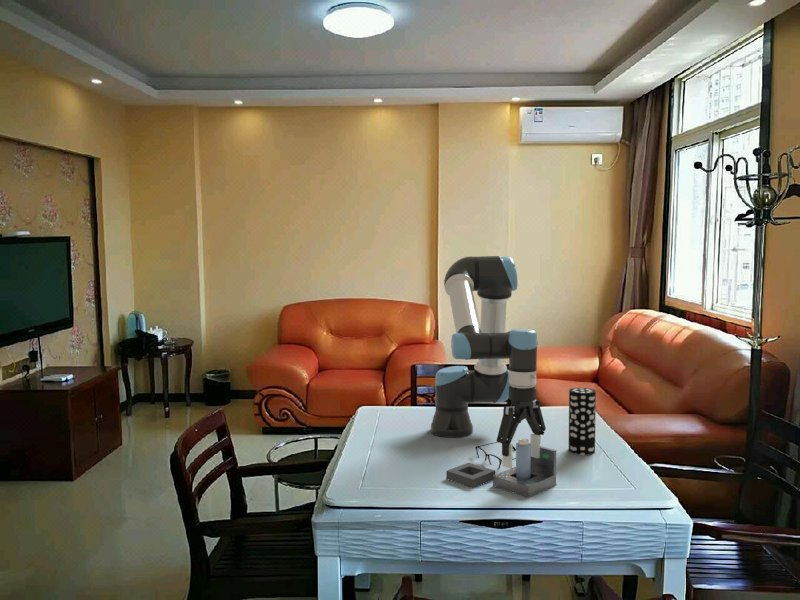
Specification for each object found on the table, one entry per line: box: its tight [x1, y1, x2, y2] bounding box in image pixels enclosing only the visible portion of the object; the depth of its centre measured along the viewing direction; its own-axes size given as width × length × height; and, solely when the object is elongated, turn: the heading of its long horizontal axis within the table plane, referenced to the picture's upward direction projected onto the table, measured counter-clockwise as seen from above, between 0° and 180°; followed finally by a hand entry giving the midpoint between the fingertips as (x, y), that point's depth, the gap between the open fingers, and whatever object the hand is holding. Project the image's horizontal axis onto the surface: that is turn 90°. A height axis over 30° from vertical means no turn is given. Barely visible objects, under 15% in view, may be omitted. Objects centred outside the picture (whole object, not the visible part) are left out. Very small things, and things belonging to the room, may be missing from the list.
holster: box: [445, 462, 496, 489], centre depth 192 cm, size 10×10×2 cm
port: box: [492, 445, 557, 499], centre depth 186 cm, size 12×13×10 cm
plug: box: [515, 438, 531, 481], centre depth 185 cm, size 4×4×13 cm
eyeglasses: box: [474, 441, 516, 470], centre depth 208 cm, size 16×16×4 cm
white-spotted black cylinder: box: [568, 387, 597, 456], centre depth 215 cm, size 8×8×20 cm
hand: (521, 462), depth 185 cm, fingers open, 12 cm apart
